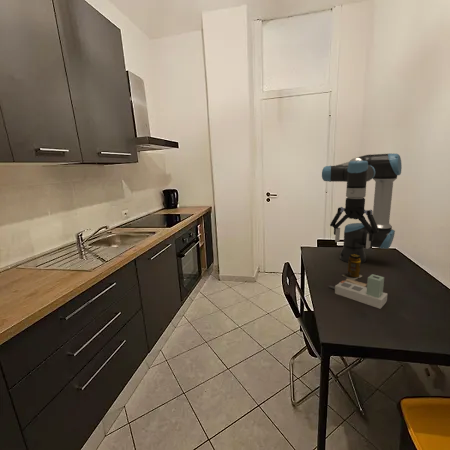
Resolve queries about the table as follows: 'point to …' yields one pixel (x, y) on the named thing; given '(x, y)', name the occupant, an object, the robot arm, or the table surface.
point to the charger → (375, 285)
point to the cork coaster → (356, 282)
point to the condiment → (353, 267)
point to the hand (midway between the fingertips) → (351, 244)
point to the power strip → (359, 294)
